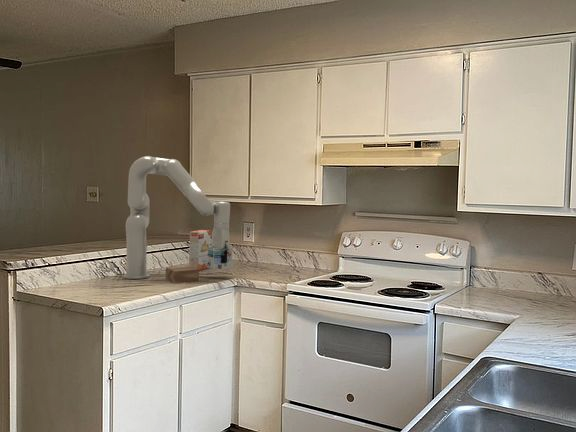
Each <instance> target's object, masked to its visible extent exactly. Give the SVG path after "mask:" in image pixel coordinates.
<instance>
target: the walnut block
mask: <svg viewBox="0 0 576 432" xmlns="http://www.w3.org/2000/svg"><path fill="white" fill-rule="evenodd" d="M199 275H200V270H199V269H196V268H193V267H190V266H189V265H185V266H173V267H172V266H171V267H165V280H166V281H168V280H169V281H168V282H171V283H173V282H174V284H183V283H184V282H186V283H195V282H196V283H197V282H200V279H199V278H200V276H199Z"/></svg>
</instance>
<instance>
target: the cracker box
mask: <svg viewBox="0 0 576 432" xmlns="http://www.w3.org/2000/svg"><path fill="white" fill-rule="evenodd" d="M208 246H211V230H209V229H207V230H206V229H199V230H194V231H189V250H188V251H189V252H188V254H189V259H188V261H189V262H188V266H190V267H193V268H196V269H199V271H201V270H202V271H203V270H205V269H208V268H207V261H208Z"/></svg>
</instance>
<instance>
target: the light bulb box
mask: <svg viewBox="0 0 576 432" xmlns="http://www.w3.org/2000/svg"><path fill="white" fill-rule="evenodd" d="M230 248H231V249H230V251H229V253H228V255H227V263H221V255H222V251H221V250H220V249H219V248H217V247H213V246H211V245H210V246H208V261H207V268H206V269H211V270H232V261H233V247H230ZM223 249H226V248H223ZM224 251H225V250H224Z"/></svg>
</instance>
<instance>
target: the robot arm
mask: <svg viewBox="0 0 576 432" xmlns="http://www.w3.org/2000/svg"><path fill="white" fill-rule="evenodd" d="M148 174H150V175H160V176H167V177H168V178H169V179H170V180H171V181H172V182H173V184H174V185H175V186H176V187H177V188H178V189H179V190H180V192H182V194H183V195H184V197H186V198H187V200H188V201H189V202H190V203H191V205H193V207H194V208H195V209H196V211H198V213H199V214H201V215H202V216H205V217H208V216H210V215H211V216H214V218H213V229H212V232H211V237H210V246H213V247H217V248H219V249H220V250H221V251H222V255H221V263H227V255H228V253H229V251H230V249H231V248H232V247H231V248H230V217H231V216H230V214H231V203H230V201H229V202H228V201H223V200H221V201H220V200H219V201H216V200H215V201H214V200H210V199H209V198H208V197H207V196H206V194H205V193H204V192H203V191H202V190H201V189H200V187H199V185H198V183H197V182H196V180H195V179H194V178H193V177H192V175H190V173H189V172H188V171H187V170H186V169H185V167H184V166H183V165H182V164H181V162H180V161H179V160H178V159H175V158H163V157H162V158H161V157H154V156H151V155H145V156H141V157H140V158H139V157H138V159H136V160H135V161H134V162H133V163H132V164H131V166H130V167H129V170H128V181H127V182H128V183H127V184H128V185H127V206H128V207H129V208H130V209H129V210H130V212H129V213H130V215H129V216H128V217H127V218H126V221H125V234H126V235H125V236H126V268H125V271H126V273H124V274H123V275H122V277H123V278H124V279H128V280H141V279H142V280H143V279H147V278H150V274H149V273H147V255H148V254H147V253H148V252H147V248H148V247H147V243H148V242H147V228H148V226H149V224H150V204H151V203H150V197H149V195H148V193H147V176H148ZM223 248H226V249H223ZM224 250H225V251H224Z"/></svg>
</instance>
